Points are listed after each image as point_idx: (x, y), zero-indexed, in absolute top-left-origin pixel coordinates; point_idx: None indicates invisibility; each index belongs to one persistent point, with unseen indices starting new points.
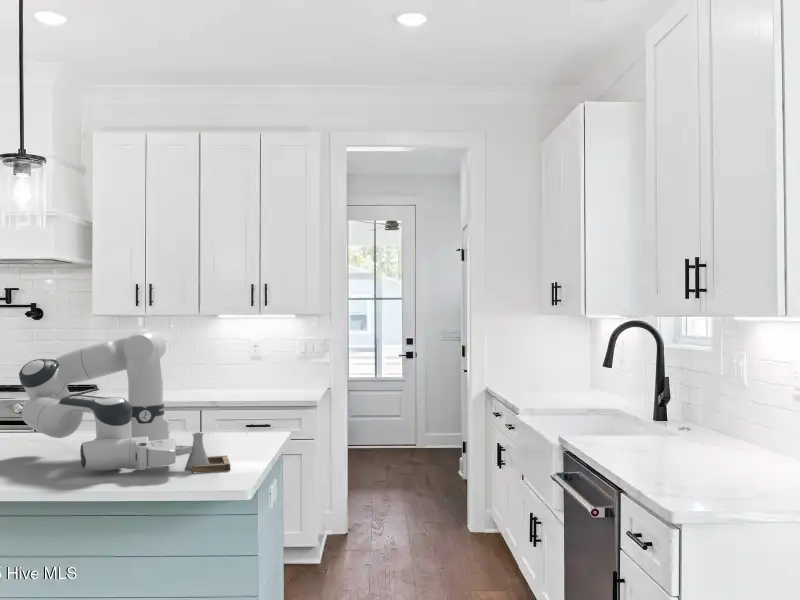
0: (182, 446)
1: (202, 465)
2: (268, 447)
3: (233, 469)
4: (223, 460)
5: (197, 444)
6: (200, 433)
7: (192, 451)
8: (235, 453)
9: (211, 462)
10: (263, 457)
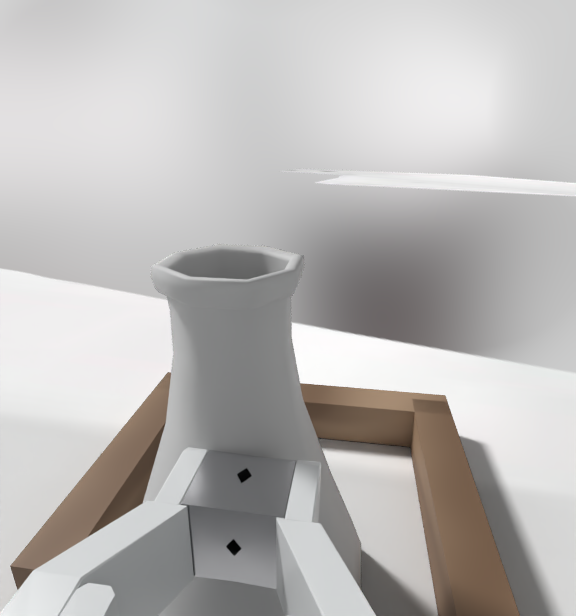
0: (134, 550)
1: (462, 536)
2: (37, 290)
3: None
4: None
5: (293, 388)
6: (204, 259)
7: None
8: (10, 356)
9: None
10: None
